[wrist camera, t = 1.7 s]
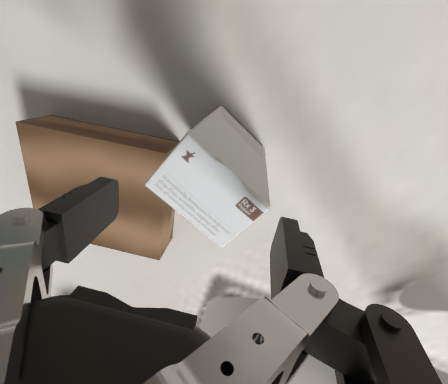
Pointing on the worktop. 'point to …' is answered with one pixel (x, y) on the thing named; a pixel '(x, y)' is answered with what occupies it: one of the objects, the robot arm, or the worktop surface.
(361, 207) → the worktop surface
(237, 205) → the skincare box
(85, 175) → the base
